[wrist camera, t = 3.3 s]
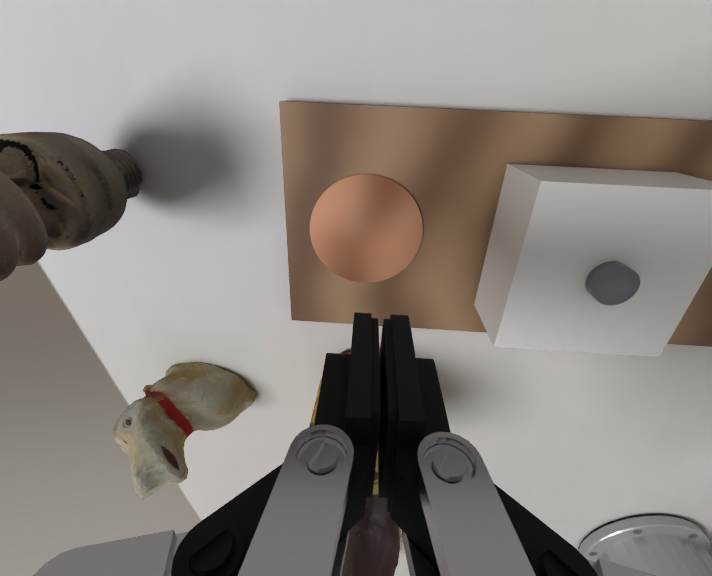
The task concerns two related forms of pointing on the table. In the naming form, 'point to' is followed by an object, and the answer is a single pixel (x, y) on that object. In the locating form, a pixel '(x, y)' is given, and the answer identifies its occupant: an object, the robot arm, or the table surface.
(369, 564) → the sauce bottle
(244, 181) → the table surface
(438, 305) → the board
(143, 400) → the beige rounded lump
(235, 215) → the table surface
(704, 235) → the block
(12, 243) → the light bulb
